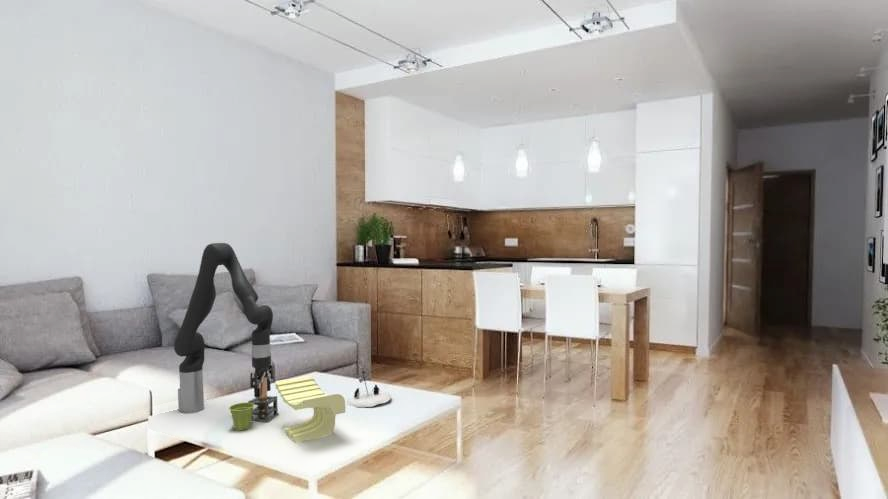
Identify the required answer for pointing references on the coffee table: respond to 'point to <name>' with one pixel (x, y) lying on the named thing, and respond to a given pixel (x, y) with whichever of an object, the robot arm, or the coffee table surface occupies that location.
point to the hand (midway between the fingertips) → (262, 393)
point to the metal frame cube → (269, 410)
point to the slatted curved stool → (310, 396)
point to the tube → (263, 395)
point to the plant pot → (241, 415)
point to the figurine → (368, 395)
